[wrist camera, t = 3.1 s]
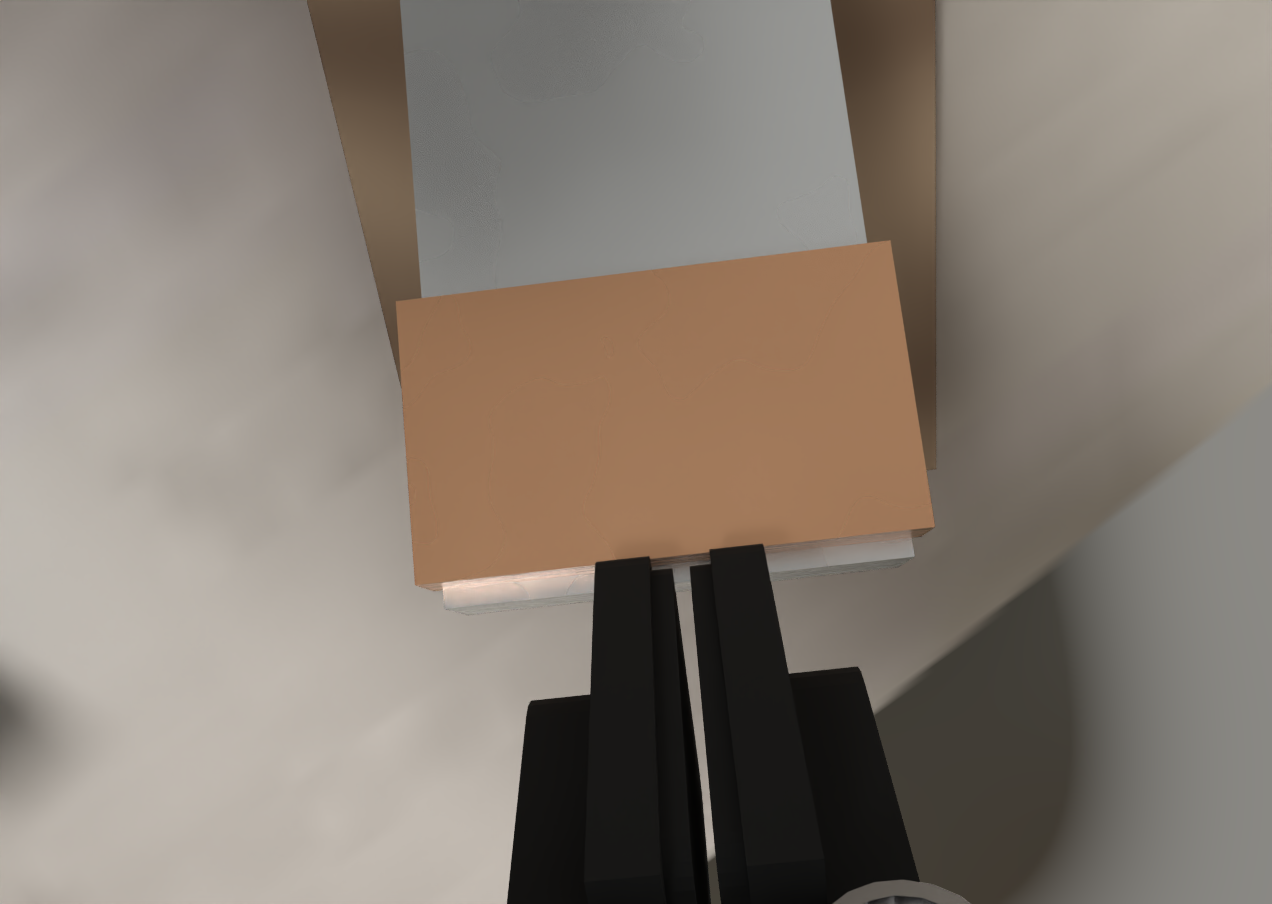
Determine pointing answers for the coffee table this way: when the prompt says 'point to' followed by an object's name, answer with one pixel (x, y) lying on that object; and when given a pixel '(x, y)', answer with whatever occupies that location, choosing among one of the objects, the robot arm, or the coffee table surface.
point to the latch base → (878, 119)
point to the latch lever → (644, 301)
